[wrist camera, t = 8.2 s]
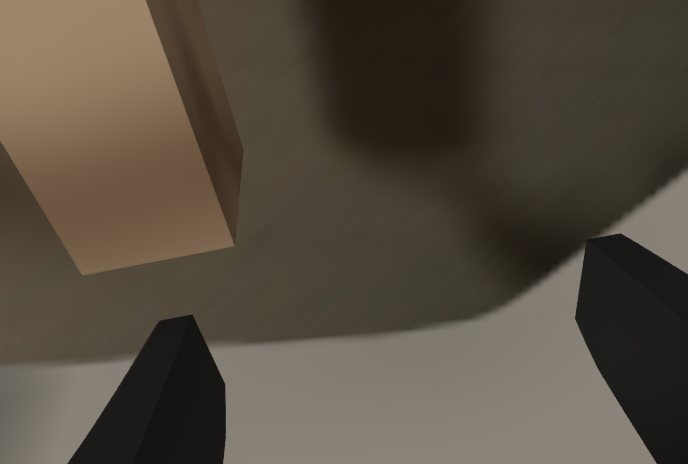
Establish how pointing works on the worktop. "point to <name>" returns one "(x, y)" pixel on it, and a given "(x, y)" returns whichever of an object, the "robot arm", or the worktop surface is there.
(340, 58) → the worktop surface
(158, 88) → the walnut bar
